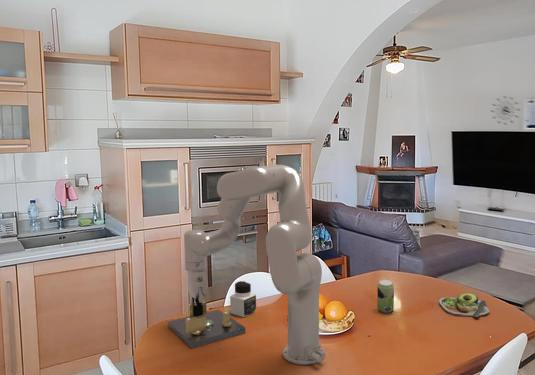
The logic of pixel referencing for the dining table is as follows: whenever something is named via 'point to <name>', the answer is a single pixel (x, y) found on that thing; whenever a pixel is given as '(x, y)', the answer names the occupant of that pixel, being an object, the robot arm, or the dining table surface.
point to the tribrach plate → (207, 329)
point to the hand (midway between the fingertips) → (197, 314)
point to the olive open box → (191, 309)
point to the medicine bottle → (243, 300)
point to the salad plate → (465, 305)
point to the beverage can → (385, 296)
